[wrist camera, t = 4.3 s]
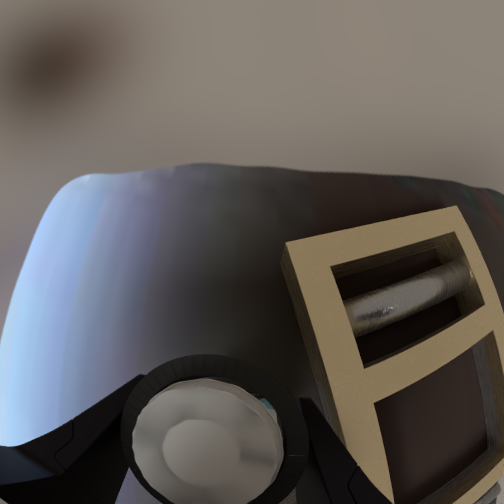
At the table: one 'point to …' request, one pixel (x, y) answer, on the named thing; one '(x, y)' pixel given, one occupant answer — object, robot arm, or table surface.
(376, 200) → the table surface
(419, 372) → the cream double window frame
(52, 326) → the table surface
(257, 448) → the push button
